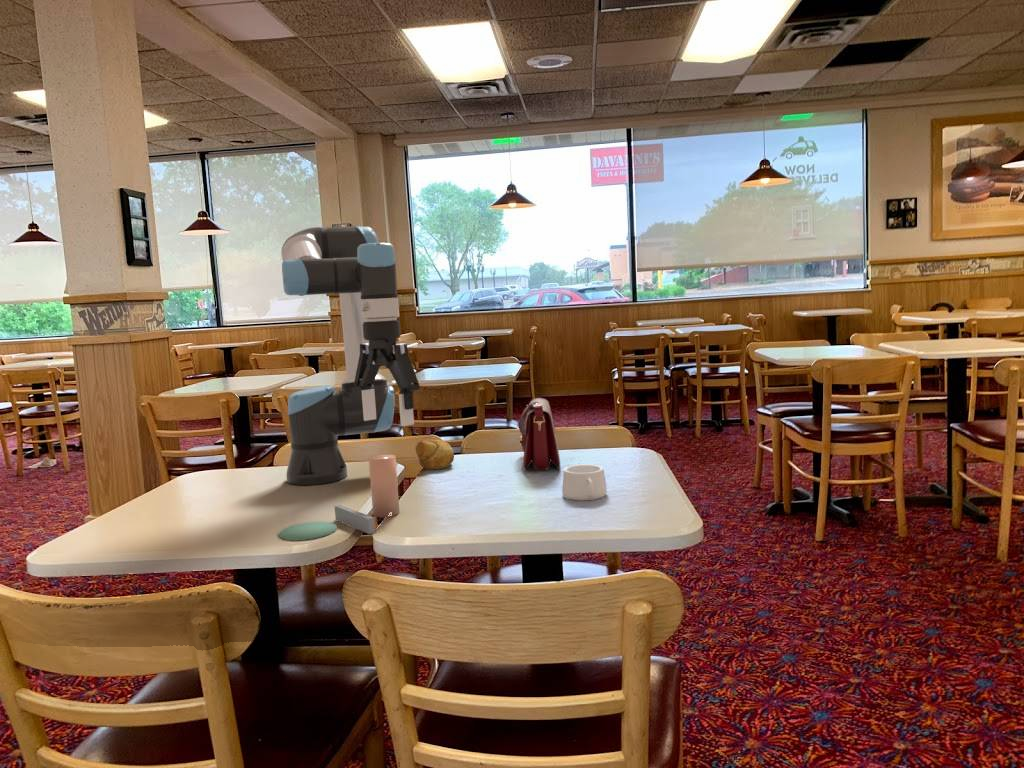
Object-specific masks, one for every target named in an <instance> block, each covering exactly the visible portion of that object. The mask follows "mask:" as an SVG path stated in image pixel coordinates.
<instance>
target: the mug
mask: <svg viewBox="0 0 1024 768" xmlns="http://www.w3.org/2000/svg"><path fill="white" fill-rule="evenodd" d="M562 472H563V475H562V486H561V489H562V490H561V491H562V492H561V493H562V496H563V497H564V498H566V499H567V500H570V501H571V500H572V501H592V500H593V501H594V500H599V499H601V498H604V497H605V496H606V495H607V493H608V491H607V482H606V475H605V470H604V468H603V466H600V465H596V464H575V465H570V466H567V467H565V468H563V471H562Z"/></svg>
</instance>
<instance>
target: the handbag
mask: <svg viewBox="0 0 1024 768" xmlns="http://www.w3.org/2000/svg"><path fill="white" fill-rule="evenodd" d="M525 414H526V416H525ZM524 416H525V421H524ZM518 429H519V432H520V434H519V435H520V436H519V439H518V440H519V446H520V447H522V451H523V461H522V469H523V470H524V471H526V470H527V468H528V467H529V466H530V464H531V463H532V465H533V469H534V470H537V471H544V470H549V468H550V464H551V463H553V464H554V466H555V467H556V468H558V469H561V467H560V466H561V461H560V460H561V459H560V451H559V445H558V440H557V434H556V433H557V432H556V429H555V423H554V417H553V412H552V409H551V404H550V402H549V400H548V399H546V398H543V397H536V398H533V399H531V400H530V401H529V402H528V405H527V406H526V407H525V408H524V409H523V411H522V414H521V415H520V418H519V421H518Z"/></svg>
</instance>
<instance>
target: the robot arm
mask: <svg viewBox="0 0 1024 768" xmlns="http://www.w3.org/2000/svg"><path fill="white" fill-rule="evenodd" d="M280 253H281V260H282V263H281V273H282V274H281V275H282V287H283V291H284V294H285V295H287V296H298V297H299V296H300V297H304V296H310V295H313V296H315V295H332V294H335V295H336V294H339V303H340V304H339V305H340V307H339V308H340V315H341V316H340V317H341V327H342V336H343V349H344V356H345V357H344V359H345V370H346V375H345V376H346V377H345V378H344V380H343V381H342V382H341V389H339V390H335V388H334V386H333V385H321V386H315V387H310V388H306V389H302V390H299V391H295V392H294V393H293V392H292V393H291V394H290V395H289V397H288V398H287V413H286V414H287V415H288V421H289V435H290V437H289V438H290V447H291V448H290V449H291V452H290V456H289V461H288V465H287V470H286V476H285V477H286V482H287V483H288V484H290V485H295V486H296V485H297V486H315V485H323V484H324V485H325V484H329V483H333V482H337V481H341V480H343V479H345V478H347V477H348V466H347V464H346V462H345V460H344V457H343V455H342V452H341V450H340V447H339V440H338V439H339V438H338V437H339V436H348V435H359V434H369V433H372V434H374V433H376V432H384V431H385V432H386V431H387V430H389V429H390V428H391V427H392V425H393V421H394V414H395V389H394V387H393V386H391V385H388V381H387V378H386V377H384V375H382V374H381V369H380V368H381V367H382V366H383V367H385V368H387V369H388V371H389V372H390V373H391V375H392V377H393V379H394V381H395V383H396V385H397V386H398V389H399V392H398V405H399V417H400V427H407V426H412V425H413V426H414V425H415V418H414V417H415V416H414V392H415V391H418V390H419V389H420V388H421V386H420V383H419V380H418V377H417V374H416V372H415V369H414V366H413V363H412V360H411V358H410V355H409V351H408V350H409V349H408V344H407V343H405V342H404V343H397V339H399V338H400V337H401V324H400V321H399V320H398V319H397V318H399V317H400V307H399V306H400V305H399V296H398V285H397V284H398V283H397V282H398V281H397V280H398V279H397V266H396V265H397V263H396V262H397V258H396V254H395V247H394V245H393V244H392V243H390V242H379V239H378V236H377V234H376V232H375V230H373V228H371V227H370V226H357V225H353V226H329V227H328V226H325V227H323V226H322V227H321V226H317V227H309V228H305V229H302V230H300V231H297V232H295V233H294V234H291V236H289V237H288V238H287V239H286V240H285V242H284V243H283V245H282V248H281V252H280Z"/></svg>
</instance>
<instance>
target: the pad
mask: <svg viewBox="0 0 1024 768" xmlns="http://www.w3.org/2000/svg"><path fill="white" fill-rule="evenodd" d="M336 529H338V526H337V524H336V523H334V522H330V521H322V520H317V521H307V522H301V523H295V524H293V525H292V524H291V525H289V526H286V527H283V528H282V529H280V531H279V532H278V537H279V539H282V540H285V541H291V540H292V541H293V540H301V541H307V540H306V539H311V540H314V539H313V538H316V539H318V538H317V537H321V538H323V537H322V536H324V537H326V536H325V535H327V534H330V533H332V532H333V533H335V532H336V531H337V530H336ZM335 530H336V531H335ZM334 531H335V532H334ZM333 533H332V534H333ZM330 535H331V534H330ZM327 536H328V535H327ZM293 542H294V541H293Z"/></svg>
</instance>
